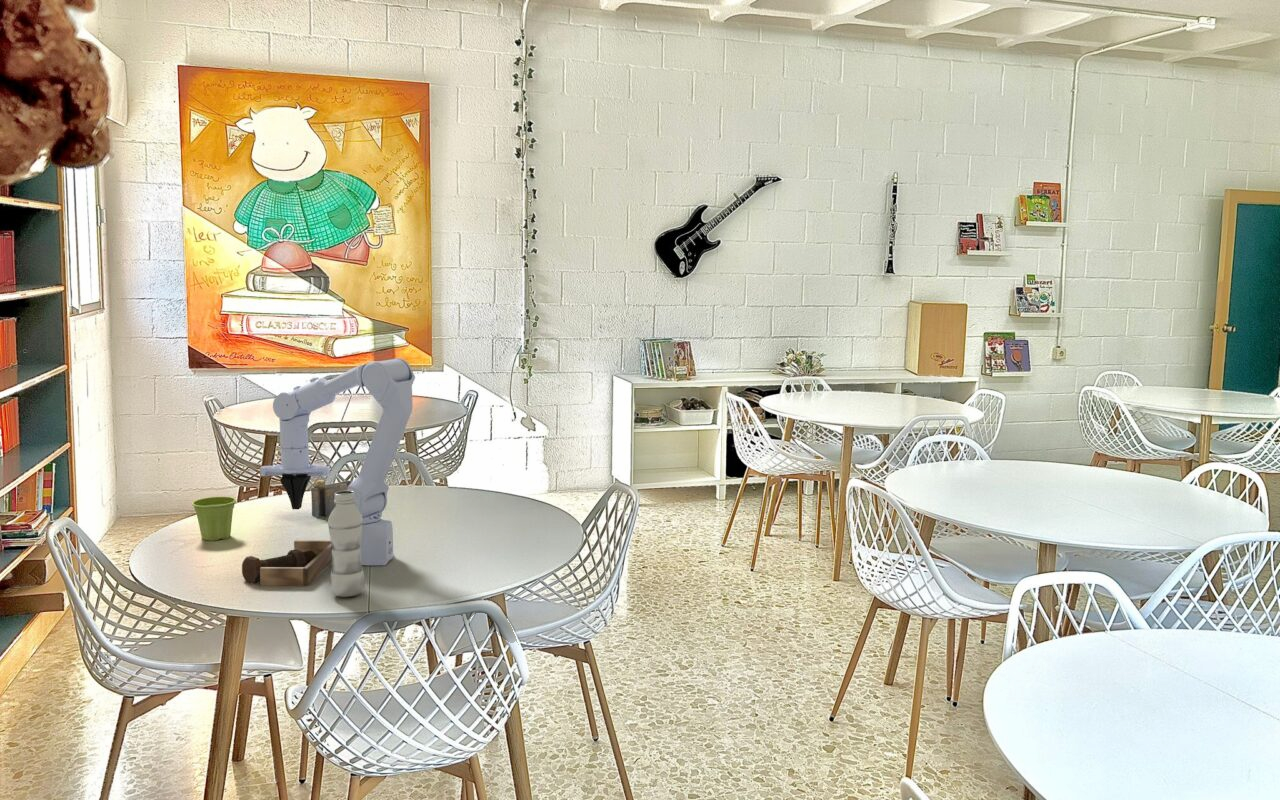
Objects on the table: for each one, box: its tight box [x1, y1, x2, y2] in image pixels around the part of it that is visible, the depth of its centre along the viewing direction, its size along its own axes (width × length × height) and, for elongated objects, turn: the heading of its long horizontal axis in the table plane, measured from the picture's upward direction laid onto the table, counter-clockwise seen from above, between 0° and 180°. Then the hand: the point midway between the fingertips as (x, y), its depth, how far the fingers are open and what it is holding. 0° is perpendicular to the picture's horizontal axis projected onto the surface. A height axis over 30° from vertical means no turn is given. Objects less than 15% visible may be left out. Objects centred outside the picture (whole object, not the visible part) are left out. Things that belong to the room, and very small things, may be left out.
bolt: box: [241, 549, 317, 585], centre depth 204 cm, size 6×5×15 cm
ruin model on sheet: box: [310, 479, 354, 518], centre depth 256 cm, size 11×3×10 cm, turn 143°
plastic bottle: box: [327, 491, 366, 598], centre depth 190 cm, size 6×7×20 cm
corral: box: [260, 539, 332, 587], centre depth 207 cm, size 9×21×4 cm, turn 0°
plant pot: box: [191, 496, 237, 542], centre depth 231 cm, size 9×9×9 cm
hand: (296, 508), depth 218 cm, fingers closed
